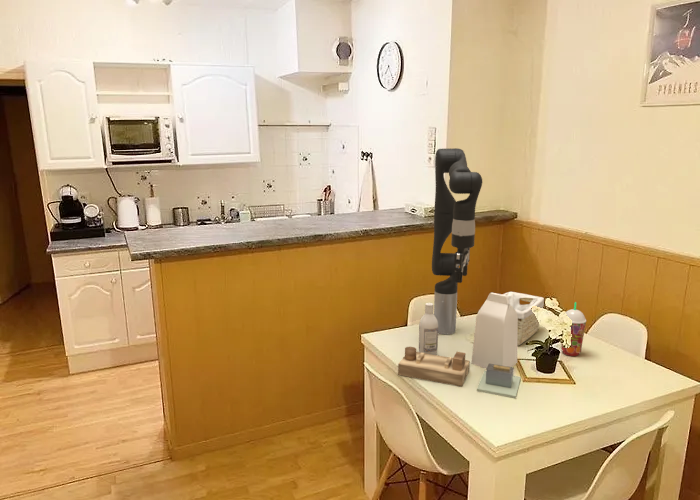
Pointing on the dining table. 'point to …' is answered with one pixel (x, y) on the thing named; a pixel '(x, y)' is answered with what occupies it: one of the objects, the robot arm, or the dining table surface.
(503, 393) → the mat
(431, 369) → the wooden peg board
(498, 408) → the dining table surface
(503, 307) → the milk
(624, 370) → the dining table surface
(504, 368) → the lever cap
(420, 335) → the bath foam
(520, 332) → the storage basket
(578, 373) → the dining table surface
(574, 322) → the smoothie
